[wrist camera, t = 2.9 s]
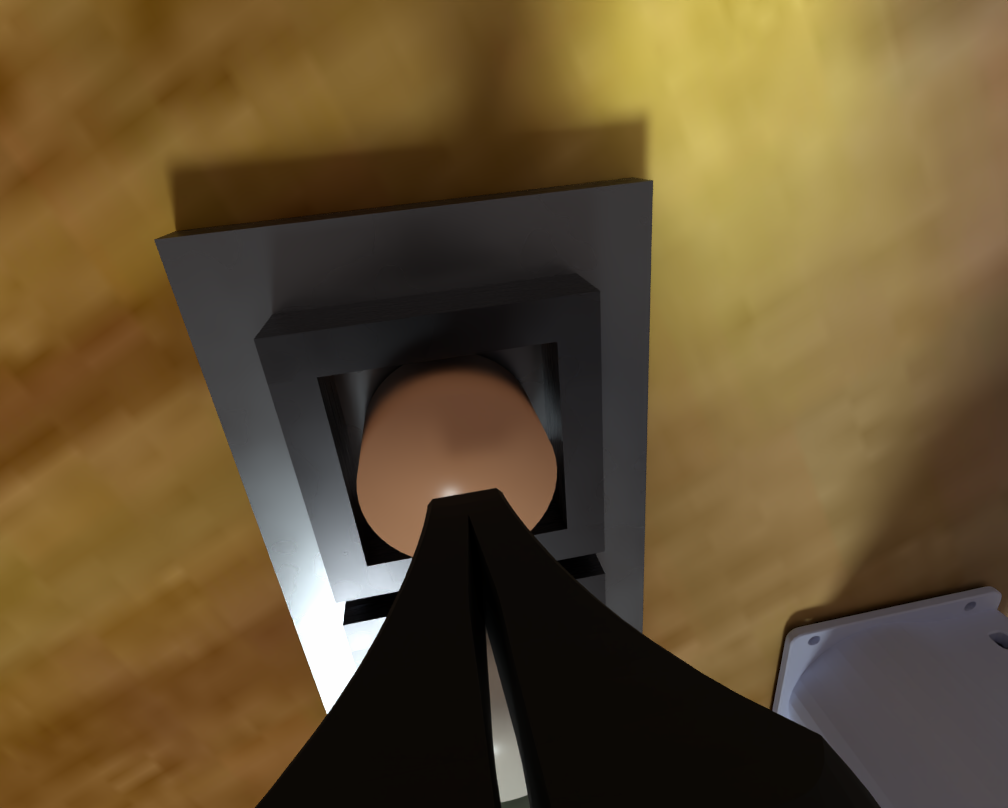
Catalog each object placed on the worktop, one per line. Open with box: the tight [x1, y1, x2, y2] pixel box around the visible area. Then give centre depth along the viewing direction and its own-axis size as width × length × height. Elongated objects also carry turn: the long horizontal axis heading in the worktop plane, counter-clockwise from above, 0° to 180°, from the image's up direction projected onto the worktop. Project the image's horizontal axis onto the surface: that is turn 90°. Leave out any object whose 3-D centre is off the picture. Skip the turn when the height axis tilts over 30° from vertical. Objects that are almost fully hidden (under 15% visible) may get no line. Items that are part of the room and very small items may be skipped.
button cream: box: [485, 626, 528, 802], centre depth 16 cm, size 4×4×2 cm
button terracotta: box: [357, 354, 557, 557], centre depth 13 cm, size 4×4×2 cm
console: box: [154, 178, 653, 714], centre depth 18 cm, size 11×27×3 cm, turn 5°
